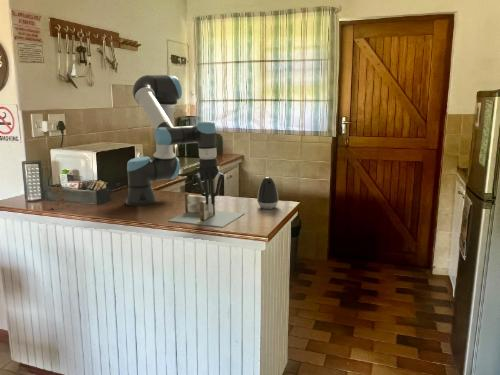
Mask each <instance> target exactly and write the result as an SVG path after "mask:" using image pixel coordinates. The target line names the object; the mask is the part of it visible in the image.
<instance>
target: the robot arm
mask: <svg viewBox="0 0 500 375" xmlns="http://www.w3.org/2000/svg"><path fill="white" fill-rule="evenodd" d="M182 89H183V88H182V84H181V82H180V80H179V78H178V77H177V76H175V75H168V74H164V75H163V74H159V75H158V74H157V75H156V74H154V75H150V74H146V75H142V76H141V77H139V78H138V79H137V80H136V81H135V83H134V84H133V87H132V96H133V99H134V100H135V103H137V104H139V105H140V106H141V108H142V109H143V111H144V113H145V114H146V116H147V118H148V120H149V121H150V123H151V124H152V126H153V127H154V131H153V135H154V142H155V144H156V150H155V152H154V153H153V158H151V157H149V156H139V157H134V158H130V159H129V160H128V161H127V164H126V171H127V172H126V173H127V182H128V183H127V184H128V190H127V196H126V198H125V200H126V201H125V202H126V205H128V206H131V207H132V206H133V207H139V206H140V207H143V206H149V205H153V204H155V203H157V197H156V195H155V193H154V192H155V191H154V189H153V184H152V183H153V182H158V181H166V180H167V181H168V180H172V179H176V178H177V177H178V175H179V174H180V170H181V164H180V159H179V158H178V157H177V155H176V153H175V152H174V146H175V145H185V144H198V157H199V160H198V161H199V163H198V164H199V170H198V172H197V173H196V174H193V178H195V180H196V182H197V185H198V189H199V191H200V196H205V197H206V204H209V212H212V211H213V204H215V203H216V200H215V198H216V197H218V195H219V193H220V188H221V183H222V179H223V177H224V175H225V174H224V173H222V172H220V171H219V167H218V158H216V157H217V155H218V154H217V153H218V152H217V134H216V132H217V129H216V123H215V122H214V121H213V120H211V121H209V120H206V121H199V122H198V121H197V125H196V124H194V125H193V124H192V125H185V126H184V125H183V126H181V125H180V126H174V124H175V123H174V120H175V118H174V117H175V106H177V105H178V100H180V99H181V98H182V95H183V90H182ZM201 177H202V179H203V180H204V181H203V182H204V185H203V183H202V179H201ZM216 177H217V178H218V179H217V182H216V183H217V184H216V188H215V178H216ZM209 182H210V185H209ZM209 186H210V187H209ZM210 195H211V196H210Z"/></svg>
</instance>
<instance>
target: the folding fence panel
mask: <svg viewBox="0 0 500 375" xmlns="http://www.w3.org/2000/svg"><path fill="white" fill-rule="evenodd" d="M199 204H200V220H201V221H203V220H205V219H207V218H208V217H210V216H211V215H213V211H212V212H209V204H206V200H205V201H203V202H199Z"/></svg>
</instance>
